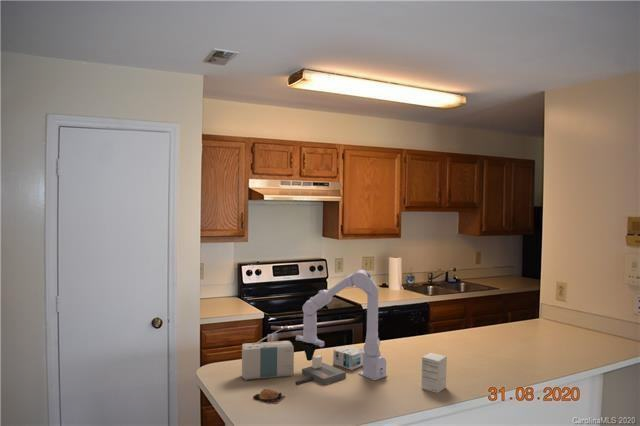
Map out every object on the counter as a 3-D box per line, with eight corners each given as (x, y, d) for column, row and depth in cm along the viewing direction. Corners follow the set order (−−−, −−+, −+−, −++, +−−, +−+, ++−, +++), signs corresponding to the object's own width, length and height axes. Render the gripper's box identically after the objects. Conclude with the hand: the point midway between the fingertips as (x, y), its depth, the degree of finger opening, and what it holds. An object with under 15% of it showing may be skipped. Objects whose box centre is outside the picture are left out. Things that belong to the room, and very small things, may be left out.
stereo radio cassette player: (242, 381, 195) (243, 332, 194) (240, 374, 203) (241, 327, 202) (293, 377, 200) (294, 329, 200) (289, 370, 208) (290, 324, 208)
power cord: (312, 380, 197) (312, 377, 197) (297, 385, 192) (297, 382, 192) (311, 379, 198) (311, 376, 198) (295, 384, 193) (295, 381, 193)
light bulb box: (332, 364, 216) (351, 370, 209) (333, 349, 216) (352, 355, 209) (347, 358, 224) (366, 364, 217) (347, 344, 224) (367, 349, 217)
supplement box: (429, 383, 196) (430, 352, 196) (446, 387, 192) (447, 356, 191) (420, 388, 191) (421, 356, 190) (438, 393, 186) (439, 360, 186)
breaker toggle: (321, 366, 206) (321, 356, 205) (315, 368, 203) (315, 358, 203) (318, 365, 207) (318, 355, 207) (312, 367, 205) (312, 356, 205)
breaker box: (345, 378, 200) (345, 372, 200) (323, 385, 193) (323, 378, 193) (323, 368, 211) (323, 362, 211) (301, 374, 203) (301, 368, 203)
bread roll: (286, 397, 182) (287, 388, 182) (275, 406, 174) (275, 396, 174) (262, 392, 186) (262, 383, 186) (250, 400, 178) (250, 390, 178)
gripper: (329, 329, 207) (328, 361, 207) (303, 323, 216) (303, 353, 217) (318, 333, 201) (317, 365, 202) (292, 326, 211) (292, 357, 211)
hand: (309, 359), depth 209 cm, fingers closed
